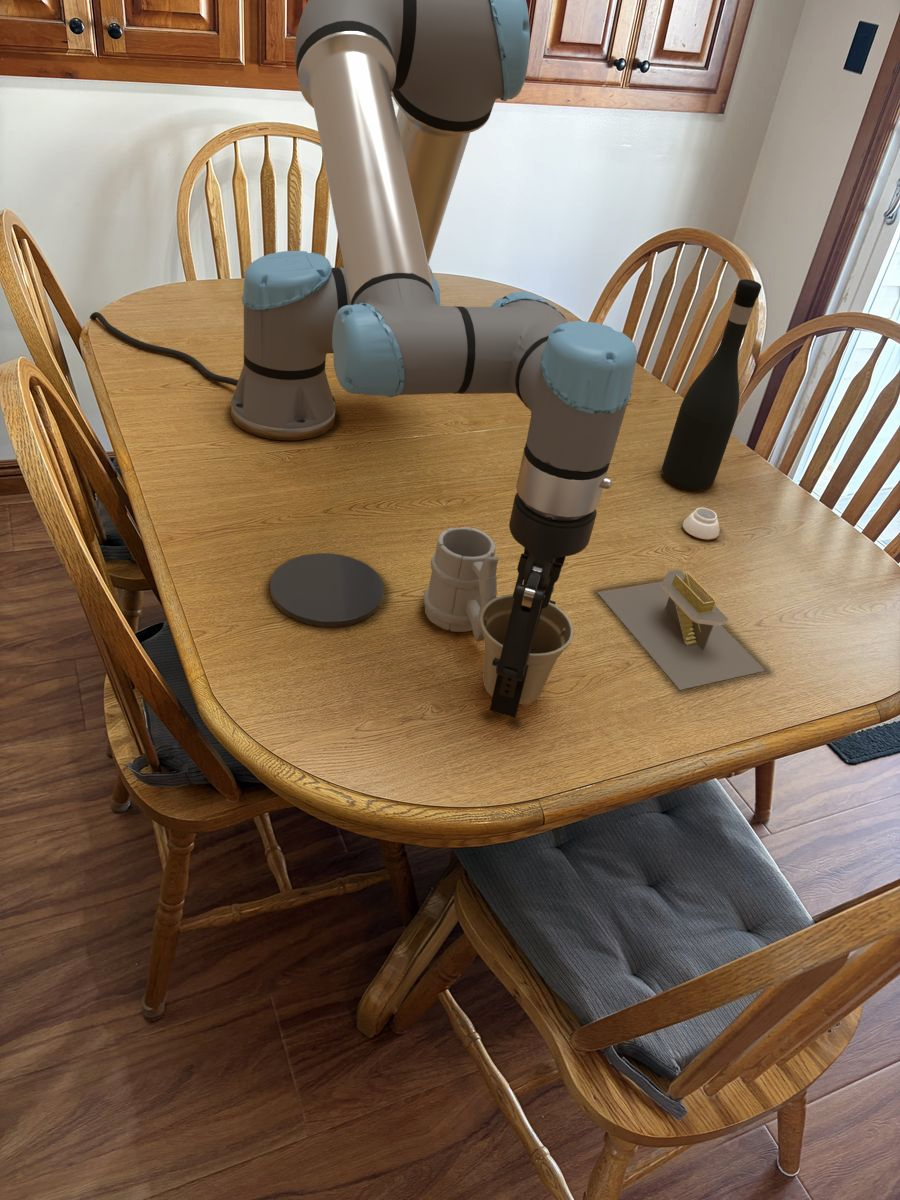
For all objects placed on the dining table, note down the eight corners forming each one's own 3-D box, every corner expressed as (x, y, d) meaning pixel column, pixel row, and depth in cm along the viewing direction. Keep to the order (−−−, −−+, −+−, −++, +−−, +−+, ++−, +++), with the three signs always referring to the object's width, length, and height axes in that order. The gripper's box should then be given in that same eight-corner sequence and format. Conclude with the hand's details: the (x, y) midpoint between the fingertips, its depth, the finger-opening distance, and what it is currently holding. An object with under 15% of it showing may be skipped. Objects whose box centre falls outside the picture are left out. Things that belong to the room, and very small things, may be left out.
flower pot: (550, 728, 94) (568, 664, 89) (459, 706, 95) (472, 641, 90) (561, 668, 101) (578, 606, 96) (476, 648, 102) (488, 585, 97)
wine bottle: (656, 463, 144) (715, 268, 126) (707, 470, 145) (772, 276, 127) (664, 490, 138) (727, 288, 120) (717, 497, 138) (787, 297, 120)
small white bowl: (679, 534, 128) (715, 545, 127) (685, 516, 127) (722, 527, 126) (684, 517, 132) (719, 528, 131) (690, 500, 130) (726, 510, 129)
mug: (471, 588, 112) (486, 503, 105) (514, 651, 104) (534, 563, 97) (412, 597, 109) (423, 510, 102) (451, 663, 101) (467, 573, 94)
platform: (679, 689, 102) (697, 644, 99) (596, 592, 115) (609, 548, 111) (765, 670, 107) (785, 626, 103) (676, 578, 120) (691, 536, 116)
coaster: (250, 607, 104) (250, 602, 104) (297, 547, 114) (297, 542, 114) (360, 639, 102) (361, 634, 102) (398, 576, 112) (399, 570, 112)
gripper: (577, 574, 75) (526, 764, 89) (614, 458, 92) (565, 634, 106) (488, 549, 77) (451, 741, 90) (540, 439, 93) (501, 616, 107)
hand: (513, 683), depth 98 cm, fingers closed on flower pot, 8 cm apart
